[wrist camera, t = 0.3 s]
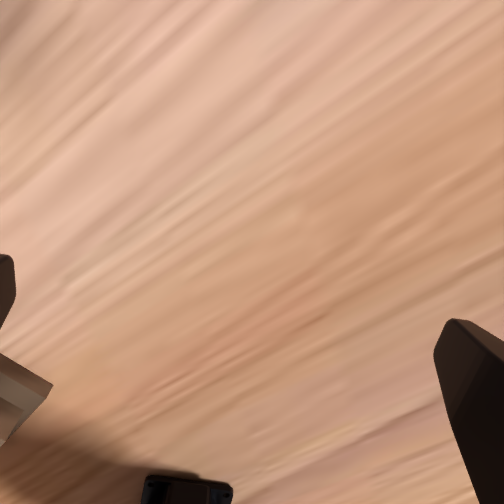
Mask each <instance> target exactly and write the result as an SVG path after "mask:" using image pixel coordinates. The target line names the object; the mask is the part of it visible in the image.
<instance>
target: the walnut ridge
mask: <svg viewBox="0 0 504 504" xmlns="http://www.w3.org/2000/svg"><path fill="white" fill-rule="evenodd" d="M52 387H53V385H52V384H50V383H48V382H47V381H45V380H43V379H42V378H40V377H38V376H37V375H35V374H33V373H32V372H30V371H28V370H27V369H25V368H23V367H22V366H20V365H18V364H17V363H15V362H13V361H12V360H10V359H8V358H7V357H5V356H3V355H2V354H0V447H1V446H2V445H3V444H4V442H5V441H6V440H7V439H8V438H9V437H10V436H11V435H12V434H13V433H14V432H15V431H16V430H17V429H18V428H19V427H20V426H21V425H22V423H23V422H24V421H25V420H26V419H27V418H28V417H29V416H30V415H31V414H32V413H33V412H34V411H35V410H36V409H37V408H38V407H39V406H40V404H41V403H42V402H43V401H44V400H45V399H46V398H47V396H48V394H49V392H50V390H51V389H52Z"/></svg>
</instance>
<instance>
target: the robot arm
mask: <svg viewBox="0 0 504 504" xmlns="http://www.w3.org/2000/svg"><path fill="white" fill-rule="evenodd" d="M15 297H16V283H15V271H14V262H13V259H12V258H11V257H10V256H9V255H5V254H0V329H1V327H2V325H3V323H4V321H5V319H6V317H7V315H8V313H9V311H10V309H11V307H12V305H13V303H14V301H15ZM433 357H434V363H435V367H436V371H437V375H438V379H439V383H440V387H441V391H442V395H443V399H444V403H445V407H446V411H447V414H448V418H449V421H450V424H451V427H452V430H453V433H454V436H455V439H456V441H457V444H458V447H459V450H460V452H461V455H462V458H463V460H464V463H465V466H466V469H467V471H468V474H469V477H470V479H471V482H472V485H473V487H474V490H475V493H476V496H477V498H478V501H479V504H504V341H502V340H501V339H499V338H497V337H496V336H494V335H492V334H491V333H489V332H487V331H486V330H484V329H483V328H481V327H479V326H478V325H476V324H474V323H473V322H471V321H468V320H462V319H455V318H452V319H450V320H448V321H447V322H446V324H445V326H444V328H443V330H442V332H441V335H440V337H439V339H438V341H437V344H436V346H435V348H434V354H433ZM232 498H233V488H232V487H230V486H226V485H218V484H211V483H204V482H197V481H190V480H183V479H176V478H169V477H162V476H155V475H150V476H147V477H146V479H145V483H144V488H143V494H142V499H141V504H231V501H232Z"/></svg>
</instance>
